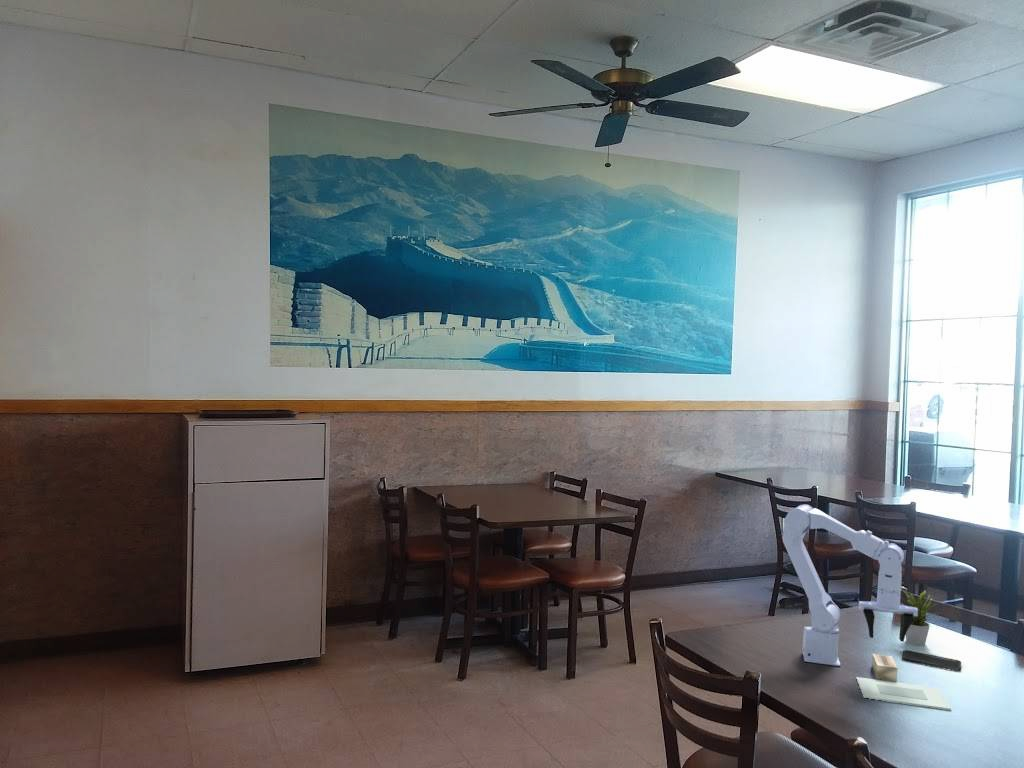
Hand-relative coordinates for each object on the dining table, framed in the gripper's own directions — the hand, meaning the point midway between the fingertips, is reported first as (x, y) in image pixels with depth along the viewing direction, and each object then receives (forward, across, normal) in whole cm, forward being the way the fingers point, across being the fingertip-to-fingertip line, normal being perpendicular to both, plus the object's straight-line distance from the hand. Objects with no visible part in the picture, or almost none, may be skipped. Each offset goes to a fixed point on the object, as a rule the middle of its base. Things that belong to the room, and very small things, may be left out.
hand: (886, 638), depth 220 cm
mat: (+10, +2, -13) cm, 17 cm away
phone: (+10, +15, +15) cm, 24 cm away
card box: (+10, 0, 0) cm, 10 cm away
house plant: (+10, +14, +32) cm, 36 cm away
